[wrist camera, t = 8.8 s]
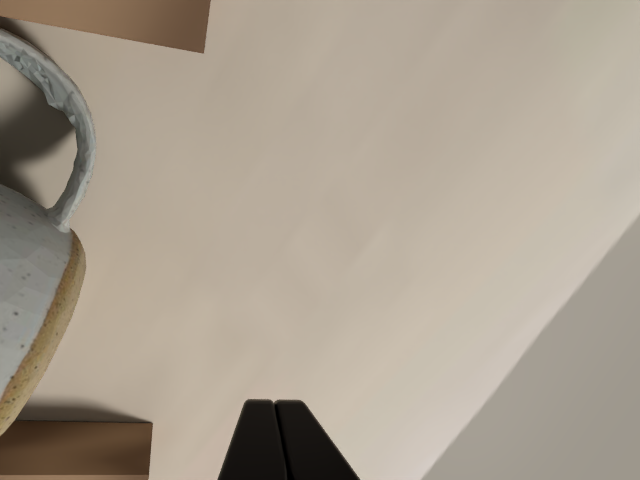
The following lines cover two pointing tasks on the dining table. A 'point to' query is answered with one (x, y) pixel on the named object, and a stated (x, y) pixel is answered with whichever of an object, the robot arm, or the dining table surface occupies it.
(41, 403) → the dining table surface
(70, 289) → the ceramic mug
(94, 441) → the walnut bay
